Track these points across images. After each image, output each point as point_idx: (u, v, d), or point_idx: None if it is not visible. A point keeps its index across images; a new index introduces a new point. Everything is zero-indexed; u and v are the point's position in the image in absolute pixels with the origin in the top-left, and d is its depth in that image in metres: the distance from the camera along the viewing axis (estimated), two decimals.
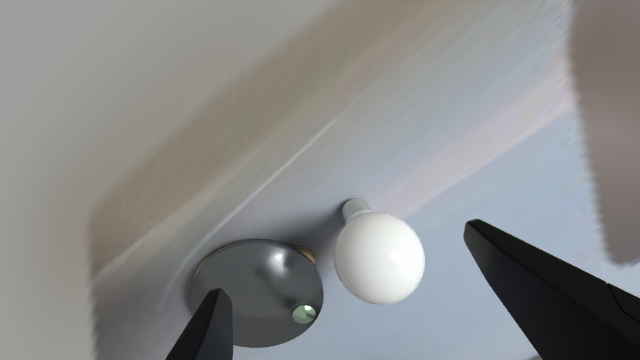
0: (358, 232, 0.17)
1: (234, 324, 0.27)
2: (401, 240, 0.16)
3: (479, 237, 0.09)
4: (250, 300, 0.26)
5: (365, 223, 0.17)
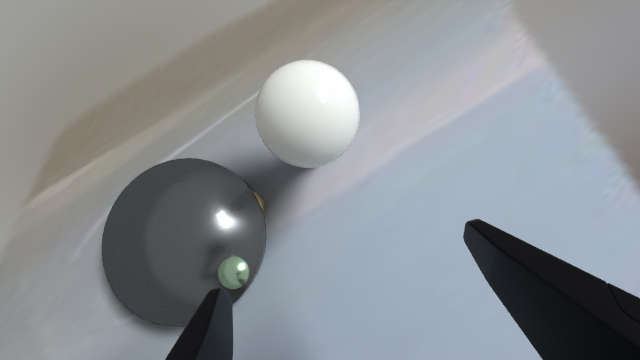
0: None
1: (143, 273, 0.20)
2: None
3: (479, 237, 0.09)
4: (172, 237, 0.21)
5: None
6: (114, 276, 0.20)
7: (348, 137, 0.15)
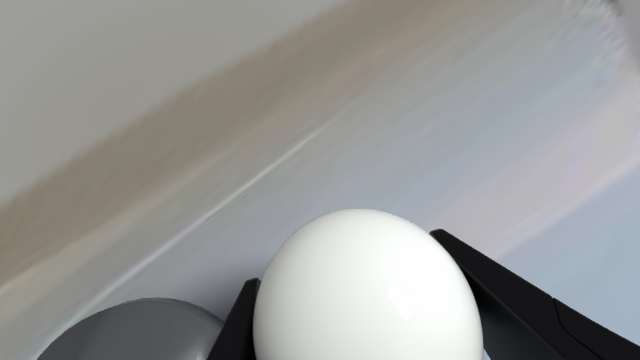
0: (308, 224, 0.08)
1: None
2: (406, 235, 0.07)
3: None
4: None
5: (328, 213, 0.08)
6: None
7: None
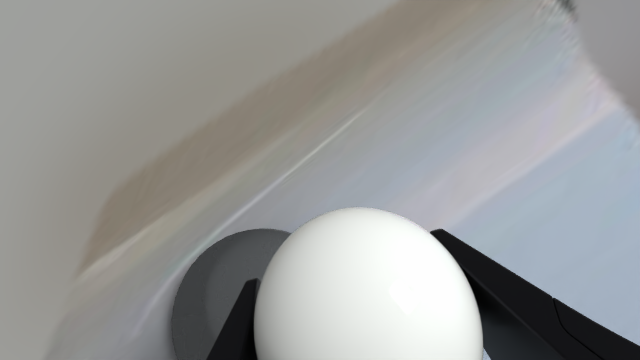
0: (309, 223, 0.08)
1: None
2: (406, 233, 0.07)
3: None
4: None
5: (329, 212, 0.08)
6: None
7: None
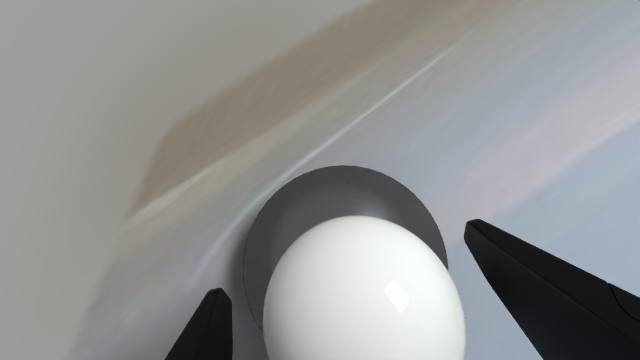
0: (312, 230, 0.09)
1: None
2: (398, 240, 0.07)
3: (480, 236, 0.09)
4: None
5: (330, 219, 0.09)
6: (262, 313, 0.16)
7: None
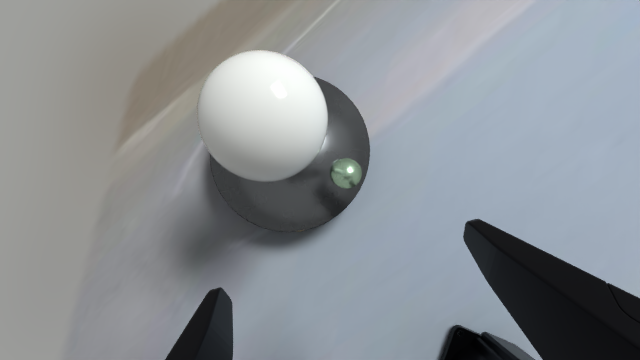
0: None
1: (258, 187, 0.21)
2: (271, 51, 0.12)
3: (479, 237, 0.09)
4: None
5: None
6: (230, 194, 0.21)
7: (315, 140, 0.12)
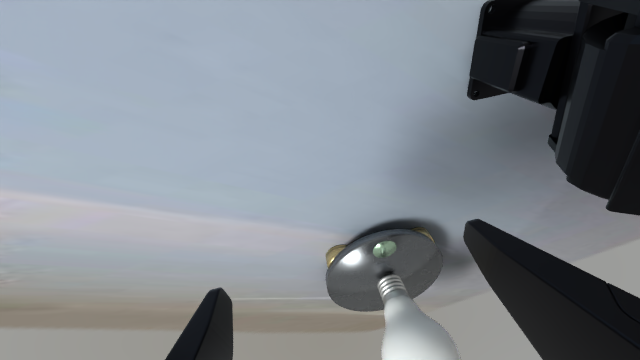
0: None
1: (417, 276, 0.29)
2: None
3: (479, 237, 0.09)
4: None
5: None
6: (428, 283, 0.31)
7: (432, 355, 0.20)
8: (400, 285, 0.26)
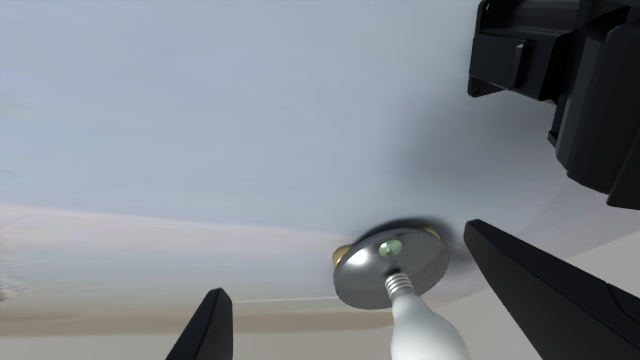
0: None
1: (424, 273, 0.30)
2: None
3: (479, 237, 0.09)
4: None
5: None
6: (435, 279, 0.31)
7: (441, 352, 0.20)
8: (407, 283, 0.27)
